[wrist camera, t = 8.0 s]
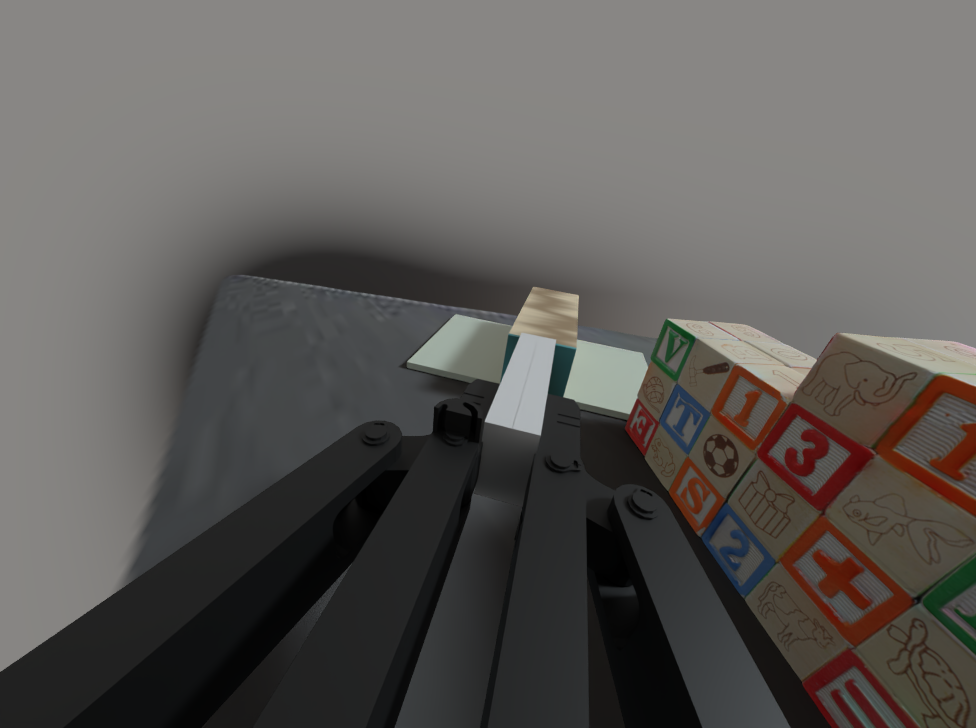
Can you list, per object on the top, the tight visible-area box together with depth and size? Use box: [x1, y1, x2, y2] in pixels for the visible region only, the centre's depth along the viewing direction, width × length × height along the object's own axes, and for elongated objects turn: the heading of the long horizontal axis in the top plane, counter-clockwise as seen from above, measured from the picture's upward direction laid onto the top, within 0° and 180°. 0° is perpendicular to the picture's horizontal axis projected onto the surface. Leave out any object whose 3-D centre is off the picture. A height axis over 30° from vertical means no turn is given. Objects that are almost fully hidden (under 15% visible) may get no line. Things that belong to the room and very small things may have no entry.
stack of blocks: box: [625, 319, 976, 728], centre depth 15 cm, size 21×6×12 cm, turn 7°
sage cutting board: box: [407, 314, 648, 420], centre depth 34 cm, size 22×14×1 cm, turn 76°
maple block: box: [500, 287, 579, 397], centre depth 32 cm, size 5×5×15 cm
